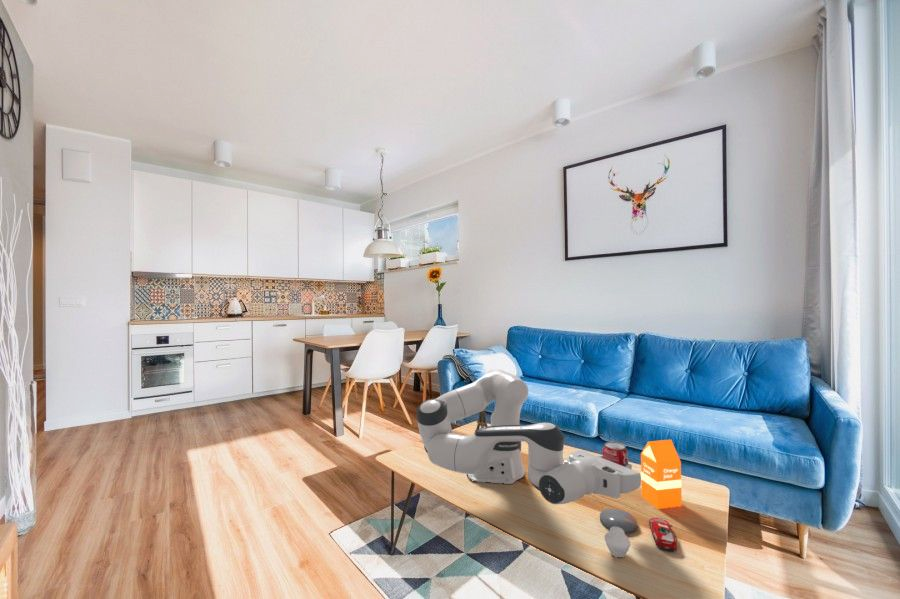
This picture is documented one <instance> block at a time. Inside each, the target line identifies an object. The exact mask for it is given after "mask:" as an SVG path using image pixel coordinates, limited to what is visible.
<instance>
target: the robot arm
mask: <svg viewBox="0 0 900 599" xmlns="http://www.w3.org/2000/svg"><path fill="white" fill-rule="evenodd" d="M528 396H529V388H528V384H527V383H525V381H523V379H522V378H520V377H519V376H517V375H515V374H512V373H510V372H506V371H504V370H502V369H491V370H489V371H487V372H486V374H485V375H483V376H482V377H479V378H478V379H476V380H475V381H473V382H472V383H469V384H466V385H463V386H460V387H458V388H455V389H453V390H450V391H448V392H445V393H443V394H441V395H440V396H438V397H437V398H429V399H426V400H425V401H422V402H421V403H420V404H419V405H418V407H417V409H416V421H417V424H418V425H417V426H418V431H419V435H420V437H421V440H422V443H423V445H424V446H423V449H424V450H425V452H426V454H427V457H428V460H429V461H430V462H431V464H433V465H435V466H438V467H440V468H442V469H444V470H449V471H451V472H456V473H460V474H465V475H466V476H467V475H468V476H467V478H468V477H469V478H470V479H471V480H473V481H478V482H477V483H485V482H491V483H490V484H502V483H504V485H505V484H506V485H512V484H514V483H515V482H516V481H518V480H521V479H522V478H523V477H524V476H525V470H524V466H523V462H522V453H521V451H522V442H525V443H526V444H527V446H528V449H527V450H528V461H527V475H528V476H527V477H528V481H529V482H530V483H531V485H532V486H533V487H534V488H535V489H536V490H537V491H538V492H540V494H541V495H542V497H543V499H544V500H546V501H547V502H548V503H550V504H552V505H565V504H569V503H572V502H575V501H578V500H580V499H581V498H583V497H584V496H588V495H591V494H594V495H602V496H605V497H611V498H614V499H617V498H620V497H621V494H628V493H631V492H634V491H635V490H637V489H639V488H641V487H642V485H641V472H639V471H637V470H634V469H633V468H632V467H633V465H632V464H630V463H629V462H628V463H627V464H624V466H622V465H619V464H617V463H614V462H611V461H609V460H606V459H604V458H603V455H596V454H593V453H591V452H587V451H585V450H582V449H579V450H575V451H574V452H571V453H570V454H569V455H568V456H567V457H566V458H565V457H564V446H565V435H564V433H563V431H562V430H561V429H560V428H559V427H558V426H557V425H556V424H555V423H551V422H537V423H528V424H520V416H521V412H522V407H523V404H524V403H525V402H526V401H527V399H528ZM493 402H495V404H494V409H493V411H492V413H491V414H490V425H489V426H488V425H487V426H488V427H485V426H484V427H483V428H481V427H480V428H479V429H478V430H477V431H476V433H475V432H474V433H475V434H474V433H473V434H469V435H467V434H466V435H465V434H458V433H453V429H452V428H453V427H452V423H453V422H457V421H461V420H462V419H463V420H464V419H467V418H468V417H471V416H473V415H476V414H479V412H481V411H483V410H484V409H485V410H486V407H488V406H489V405H491V403H493ZM469 478H468V479H469ZM470 479H469V480H470ZM471 480H470V481H471ZM473 481H472V482H473Z"/></svg>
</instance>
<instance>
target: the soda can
mask: <svg viewBox="0 0 900 599" xmlns="http://www.w3.org/2000/svg"><path fill="white" fill-rule="evenodd" d="M626 447H627V446H626V445H625V444H623V443H621V442H618V441H606V442H605V443H604V446H603V447H602V456H603V458H604V459H606V460H609V461H611V462H614V463H617V464H619V465H622V466H624V464H627V463H628V464H629V453H628V450H627V448H626Z"/></svg>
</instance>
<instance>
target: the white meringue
mask: <svg viewBox="0 0 900 599" xmlns="http://www.w3.org/2000/svg"><path fill="white" fill-rule="evenodd" d="M604 541H605V544H606V547H607V549H608V550H609V553H610V554H611V556H613V557H614V556H616V557H615V558H617V557H623V558H625V556H626V554H627V553H628V551H629V549H630V548H631V540H630V539H629V537H628V536H627V534H625V533H624V531H623V529H622V528H620V527H616V526H613V527H611V528H610V530H609V531H608V532H606V534H605V535H604Z"/></svg>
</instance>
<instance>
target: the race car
mask: <svg viewBox="0 0 900 599" xmlns="http://www.w3.org/2000/svg"><path fill="white" fill-rule="evenodd" d="M648 522H649V524H648V525H649V527H650V531H651V534H652V537H653V542H654V543H655V544H654V545H655V546H656V547H658V548H659V549H661V550H666V551H667V550H668V551H673V552H675V551H676V552H677V550H678V546H677V545H678V544H677V540H676V536H675V534H674V532H673V529H672V527H673V525H672V524H670V522H669V521H667V520H665V519H663V518H660V517H652V518H650V519H649V521H648Z"/></svg>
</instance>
